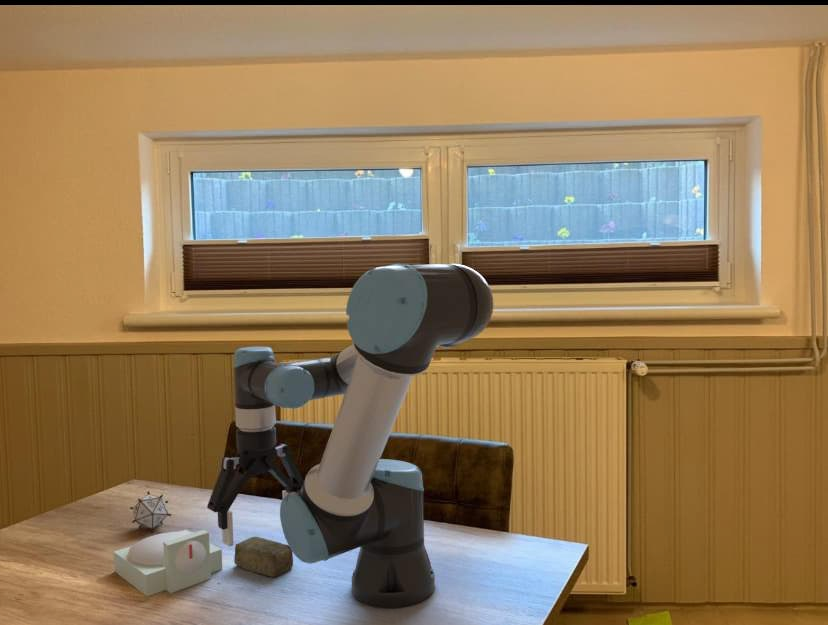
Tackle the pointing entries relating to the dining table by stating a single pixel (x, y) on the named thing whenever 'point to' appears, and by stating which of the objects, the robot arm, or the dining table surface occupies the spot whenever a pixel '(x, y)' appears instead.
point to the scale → (168, 561)
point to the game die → (150, 511)
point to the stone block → (263, 556)
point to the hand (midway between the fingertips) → (259, 533)
